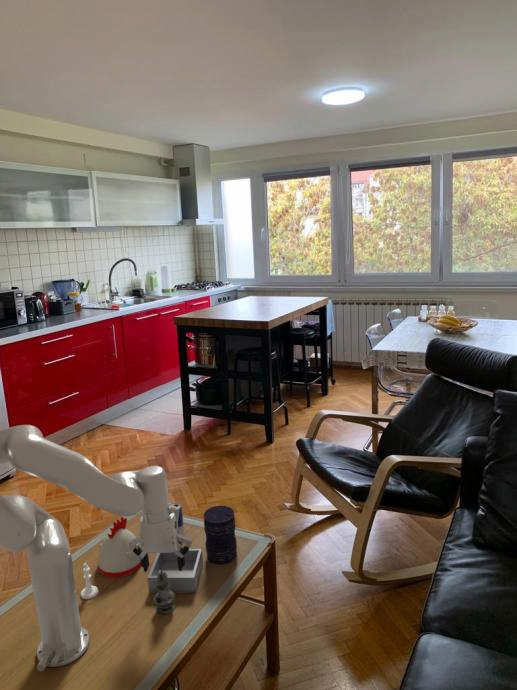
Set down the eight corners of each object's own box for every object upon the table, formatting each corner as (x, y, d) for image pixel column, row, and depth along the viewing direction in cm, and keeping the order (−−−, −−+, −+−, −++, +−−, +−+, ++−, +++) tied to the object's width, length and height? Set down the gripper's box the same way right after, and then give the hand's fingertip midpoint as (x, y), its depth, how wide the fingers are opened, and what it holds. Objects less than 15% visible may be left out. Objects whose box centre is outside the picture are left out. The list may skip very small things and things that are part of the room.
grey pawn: (178, 601, 147) (174, 563, 144) (173, 616, 141) (169, 577, 139) (158, 600, 148) (154, 563, 145) (152, 615, 142) (147, 577, 139)
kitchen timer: (152, 556, 168) (148, 514, 165) (123, 582, 156) (117, 537, 153) (119, 545, 175) (115, 505, 171) (89, 570, 163) (83, 527, 159)
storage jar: (201, 562, 163) (197, 520, 160) (213, 544, 173) (210, 503, 169) (231, 567, 160) (228, 524, 157) (241, 548, 169) (239, 507, 166)
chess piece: (90, 585, 155) (86, 556, 153) (101, 590, 153) (97, 560, 151) (77, 595, 151) (72, 565, 149) (88, 601, 149) (84, 570, 147)
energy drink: (187, 536, 178) (184, 504, 175) (177, 544, 173) (174, 512, 171) (175, 532, 181) (172, 501, 178) (165, 540, 176) (162, 508, 173)
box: (195, 592, 150) (194, 577, 149) (149, 592, 151) (147, 577, 150) (203, 562, 163) (201, 548, 162) (160, 563, 164) (159, 549, 163)
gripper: (191, 503, 141) (197, 558, 145) (128, 505, 142) (137, 560, 146) (185, 519, 134) (192, 576, 138) (120, 521, 135) (129, 578, 139)
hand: (164, 568), depth 142 cm, fingers open, 9 cm apart
